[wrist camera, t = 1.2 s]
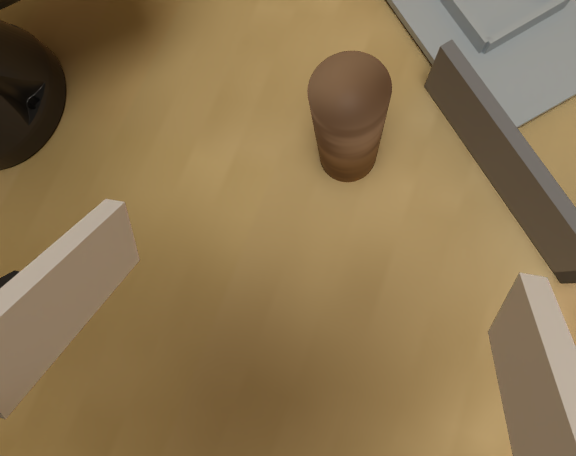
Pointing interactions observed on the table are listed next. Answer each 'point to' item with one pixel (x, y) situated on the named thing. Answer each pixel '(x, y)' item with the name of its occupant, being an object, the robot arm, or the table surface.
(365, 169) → the wooden dowel
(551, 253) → the dock
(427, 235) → the table surface
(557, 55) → the tray
